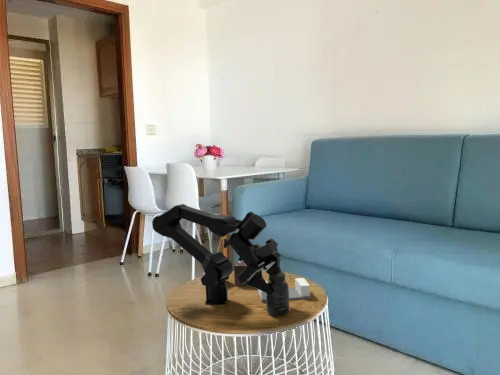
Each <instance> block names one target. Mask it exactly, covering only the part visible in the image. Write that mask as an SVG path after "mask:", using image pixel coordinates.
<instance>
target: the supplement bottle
mask: <svg viewBox="0 0 500 375" xmlns="http://www.w3.org/2000/svg"><path fill="white" fill-rule="evenodd" d="M285 280H286V273H285V272H283V271H282V272H279V271H276V272H271V273H269V274H268V281H267V284H268V285H269V287H270V288H271V290H272V292H273V293H272V294H271V295H270V294H268V293H266V302H265V303H266V313H267V314H268V315H270V316H272V317H283V316H284V317H285V316H286V315H288V314H290V300H289V288H290V287H289V283H288V282H287V280H286V281H285Z"/></svg>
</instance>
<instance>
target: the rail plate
mask: <svg viewBox="0 0 500 375" xmlns="http://www.w3.org/2000/svg"><path fill="white" fill-rule="evenodd" d="M265 281H266V283H268V281H267V280H265ZM294 281H295V282H294V283H295V285H294V287H289V301H293V300H304V299H306V300H307V299H311V286H310V284H309V282H308V281H307V280H306V279H305V277H297V278H294ZM257 293H258V296H259V298H260V301H261V303H266V293H265V292H263V291H261V290H259V289H257Z"/></svg>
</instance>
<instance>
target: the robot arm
mask: <svg viewBox="0 0 500 375" xmlns="http://www.w3.org/2000/svg"><path fill="white" fill-rule="evenodd" d="M182 220H185V221H188V222H191V223H194V224H197V225H200V226H202V227H206V228H207V229H208V230H209V231H210V232H211V233H213V234H214V235H216V236H218V237H220V238H221V237H226V236H229V235H230V236H229V237H226V238H224V239H223V248H224V249H226V248H229V247H231V249H232V250H233V251H234V252H235V253H236V254H237V256H238V257H239V258H238V259H237V260H238V262H239V261H240V262H241V261H244V263H245V264H246V265H247V266H246V267H245V268H244V269H243V271H242V272H241V273H240V274H239V275H238V280H239V282H240V283H241V284H244V283H246V282H247V281H248V282H247V283H246V284H245V285H244V286H247V285H249V287H251V288H255V289H257V290H258V289H259V290H261V291H263V292H265V293H268V294H270V295H271V294H272V293H273V292H272V290H271V288H270V287H269V285H268V284H267V283H268V282H267V283H266V281H267V280H265V278H264V277H263V272H262V271H263V270H265V273H266V274H268V275H269V273H271V272H276V271H279V272H283V271H282V269H281V266H280V264H281V260H282V255H281V254H280V252H279V249H278V244H279V243H278V242H277V241H276V240H275V239H273V238H270V239H267V240H266V241H265V244H263V245H262V246H260V245H259V244H258V243H257V244H254V243H253V242H252V241H253V240H255V239H256V238H257V237H258V236H259V235H260V234H261V233H262V232H263V231H264V230H265V229H266V227H267V222H266V221H265V219H264V218H263V217H261V216H259V214H256V213H254V212H253V211H249V212H247V213H246V214H245V216H244V217H243V219H242V220H240V219H236V217H235V216H234V215H227V214H214V213H210V212H207V211H204V210H200V209H197V208H194V207H192V206H188V205H187V204H184V203H183V204H182V203H181V204H177V205H174V206H172V207H171V208H170V209H169V210H167V211H165V212H164V213H162V214H161V215H157V216H155V217H153V219H152V221H151V222H152V229H153V231H154V232H156V233H157V234H158V235H160V236H162V237H166V238H169V239H172V240H173V241H174V242H175V243H176V244H177V245H179V246H180V247H181V248H182V249H183V250H184V251H185V252H187V254H189V255H190V256H191V257H193V259H194V260H196V261H197V262H199V264H200V265H201V268H202V271H203V270H204V272H205V275H204V276H203V275H202V277H201V278H200V282H201V285H202V286H204V287H205V302H204V303H205V305H219V304H220V305H222V304H223V305H225V304H226V303H227V301H228V299H229V287H228V284H227V283H226V281H227V280H229V278H230V276H231V274H232V273H233V263H232V262H231V260H230V258H229V257H227V256H225V255H224V253H223V252H221V251H217V252H216V253H212V252H211V251H210V250H209V249H208V248H206V247H205V246H204V245H203V244H202V243H201V242H199V241H198V240H197V239H195V238H194V237H193V236H192V235H191V234H190V233H189V232H188V231H186V230H185V229H184V228H183V226H182V225H181V221H182ZM236 231H237V232H236ZM251 240H252V241H251ZM262 269H263V270H262ZM285 281H286V282H287V280H286V279H285Z"/></svg>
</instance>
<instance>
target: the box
mask: <svg viewBox="0 0 500 375" xmlns="http://www.w3.org/2000/svg"><path fill="white" fill-rule="evenodd" d="M246 266H247V265H246V264H245V263H244V261H241V262H240V261H239V260H238V261H237V262H235V264H234V265H233V274H234V286H249V285H245V284H246V283H247V282H248V281H247V282H246V283H244V284H241V283H240V282H239V280H238V275H239V274H240V273H241V272H242V271H243V269H244V268H245V267H246ZM249 287H250V286H249Z"/></svg>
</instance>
